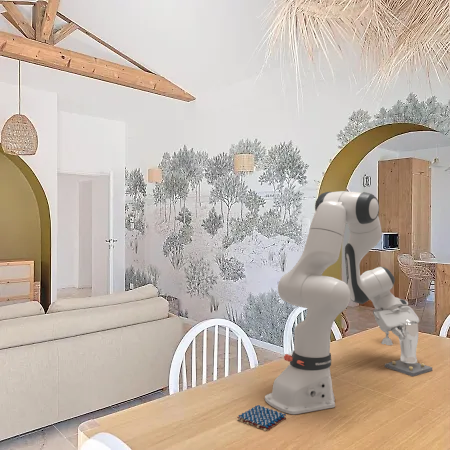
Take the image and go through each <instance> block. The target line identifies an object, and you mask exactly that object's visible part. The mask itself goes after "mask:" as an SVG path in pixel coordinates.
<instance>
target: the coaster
mask: <svg viewBox="0 0 450 450" xmlns="http://www.w3.org/2000/svg"><path fill="white" fill-rule="evenodd" d="M384 368H387V369H390V370H391V371H392V370H393V371H396V372H398V373H401V374H404V375H407V376H411V377H416V376H419V375H422V374H426V373H429V372H432V371H433V367H432V366H429V365H426V364H425V363H424V362H421V363H420V362H417V363H415V364H407V363H403V362H401V361H400V359H398V360H397V359H396V360H392V361H390V362H387V363H384Z"/></svg>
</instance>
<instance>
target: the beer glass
mask: <svg viewBox="0 0 450 450" xmlns="http://www.w3.org/2000/svg"><path fill="white" fill-rule="evenodd" d="M405 321H407V322H408V323H409V324H404V323H401V322H399V323H400V326H399V329H398V331H400V332H401V333H403V334H404V336H405V337H406V338H405V339H403V340H400V339H399V338H398V341H399V346H400V356H399V358H400V359H399V360H400V361H401V362H403V363H407V364H415V363H418V357H417V348H418V342H419V323H418V322H416V321H412V320H405Z"/></svg>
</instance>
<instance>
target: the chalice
mask: <svg viewBox="0 0 450 450" xmlns="http://www.w3.org/2000/svg"><path fill="white" fill-rule="evenodd" d="M384 333H385V337H384V338H382V340H381V342H380V343H381V345H384V344H386V346H393V345H394V343H393V340H392V338H390V337H389V334H390V331H388V332H384Z"/></svg>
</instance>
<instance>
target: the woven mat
mask: <svg viewBox="0 0 450 450" xmlns="http://www.w3.org/2000/svg"><path fill="white" fill-rule="evenodd" d="M286 416H287V413H284V412H282V411H279V412H278V410H274V409H272V408H269V407H265V406H263V405H259V404H258V405H255V406H254V407H251V408H250V409H248V410H246V411H244V412H241V414H238V416H237V419H238V420H237V422H241V423H243V424H244V425H245V424H246V425H250V426H252V427H254V428H256V429H259V430H260V431H261V430H263V431H264V432H267V431H268V430H271V429H272V428H273V427H275V426H277V425H279V423H281V422H283V421H284V420H286V419H287V417H286Z"/></svg>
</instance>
